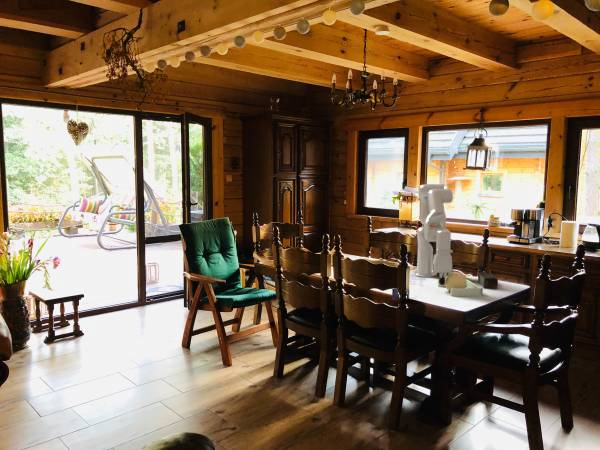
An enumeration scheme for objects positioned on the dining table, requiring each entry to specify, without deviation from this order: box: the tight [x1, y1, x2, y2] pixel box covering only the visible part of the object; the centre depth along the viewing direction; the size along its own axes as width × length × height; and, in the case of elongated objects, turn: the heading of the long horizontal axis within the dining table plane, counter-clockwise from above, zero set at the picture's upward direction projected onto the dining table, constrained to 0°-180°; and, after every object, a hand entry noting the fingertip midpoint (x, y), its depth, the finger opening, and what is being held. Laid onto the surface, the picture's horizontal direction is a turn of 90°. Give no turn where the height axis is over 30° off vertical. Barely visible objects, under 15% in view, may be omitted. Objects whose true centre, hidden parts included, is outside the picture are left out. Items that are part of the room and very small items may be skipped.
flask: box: [391, 288, 410, 301], centre depth 255 cm, size 9×3×11 cm, turn 96°
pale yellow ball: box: [445, 271, 467, 291], centre depth 273 cm, size 12×12×11 cm
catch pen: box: [437, 278, 484, 297], centre depth 274 cm, size 22×17×4 cm
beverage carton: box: [477, 271, 499, 290], centre depth 288 cm, size 8×19×7 cm, turn 169°
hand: (441, 284), depth 273 cm, fingers closed
